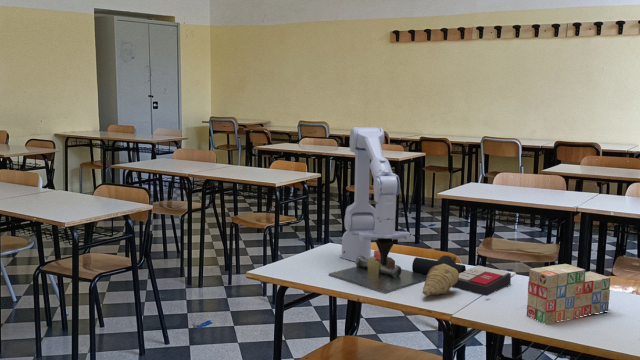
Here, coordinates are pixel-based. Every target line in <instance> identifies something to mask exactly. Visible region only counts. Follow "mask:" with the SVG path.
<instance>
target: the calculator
mask: <svg viewBox="0 0 640 360" xmlns="http://www.w3.org/2000/svg"><path fill="white" fill-rule="evenodd" d="M511 277H512V273H511V272H509V271H506V270H501V269H496V268H491V267H486V266H483V265H475V266H474V267H471V268H468V269H466V271H464V272H462V273H459V277H458V281H457V282H456V283H455V284H454V285H453V286H452V287H451V288H453V289H454V288H455V289H458V290H463V291H465V292H469V293H474V294H478V295H482V296H489V295H491V294H494V293H495V292H497V291H499V290H500V289H503V288H506V287H508V286H510V285H511Z"/></svg>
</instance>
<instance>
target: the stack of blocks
mask: <svg viewBox="0 0 640 360" xmlns="http://www.w3.org/2000/svg"><path fill="white" fill-rule="evenodd" d="M527 284H528V286H527V305H526V317H528V316H529V317H528V318H530V317H532V318H534V319H536V320H535V321H537V320H538V321H537V322H539V321H540V322H539V323H541V322H543V323H545V324H544V325H548V324H547V323H550V324H553V323H552V322H556V323H558V322H557V321H561V320H567V319H573V318H576V317H580V316H584V315H589V314H595V313H600V312H605V311H608V312H609V305H610V304H609V303H610V302H609V301H610V291H611V290H610V287H611V277H610V276H606V275H603V274H599V273H598V272H593V271H591V270H590V271H586V269H584V268H580V267H578V266H574V265H571V264H567V263H563V264H555V265H548V266H542V267H534V268H530V269H529V276H528V283H527ZM532 318H531V319H532ZM534 319H533V320H534ZM576 319H577V318H576ZM573 320H574V319H573ZM567 321H568V320H567ZM543 323H542V324H543Z"/></svg>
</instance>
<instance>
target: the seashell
mask: <svg viewBox="0 0 640 360" xmlns="http://www.w3.org/2000/svg"><path fill="white" fill-rule="evenodd" d="M458 277H459V273H458V271H457V270H456V269H455V268H453V267H451V266H449V265H447V264H440V265H437V266H434V267H432V268H431V269H430V270H429V272H428V274H427V278H426V281H424V285H423V287H422V292H421V293H422V294H423V295H425V296H431V295H444V294H446V293H449V291H450V289H451V288H453V287H452V286H453V285H454V284H455V283H456V282H457V281H458Z"/></svg>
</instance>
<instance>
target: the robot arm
mask: <svg viewBox="0 0 640 360" xmlns="http://www.w3.org/2000/svg"><path fill="white" fill-rule="evenodd" d="M349 133H350V134H349V149H350V150H349V151H350V152H351V153H353V154H354V156H355V159H354V163H355V164H354V197H353V198H354V202H352V204H350V205H349V206H347V207H346V208H345V215H344V218H343V219H344V220H343V221H344V222H343V223H344V224H343V225H344V229H345V232H344V233H343V235H342V237H341V255H339V258H342V259H345V260H348V261H352V262H355V263H356V259H357V257H358V256H364V257H365V258H367V259H368V258H372V257H373V256H372V255H371V251H372V249H371V248H372V241H374V242H375V243H376V246H377V250H379V252H380V255H381V259H380V262H381V264H382V265H386V263H387V256H388V255H389V253H390V251H391V249H392V248H393V246H394V243H395V242H394V240H406V241H407V240H408V241H409V240H410V239H411V232H409V231H396V211H397V197H398V195H399V194H400V188H401V182H400V177H399V175H398V174H396V173H395V172H394V173H393V170H392V167H391V164H390V161H389V160H388V159H387V158H386V157H385V156H384V153H383V145H384V143H385V131H384V129H383V128H382V127H381V126H378V127H356V126H353V127H352V128H351V129H350V132H349ZM370 171H371V172H370ZM370 173H371V175H372V178H373V183H372V184H373V187H372V188H373V195H374V196H373V197H374V199H373V200H374V202H375V207H374V206H372V204H370ZM388 257H389V256H388Z"/></svg>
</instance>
